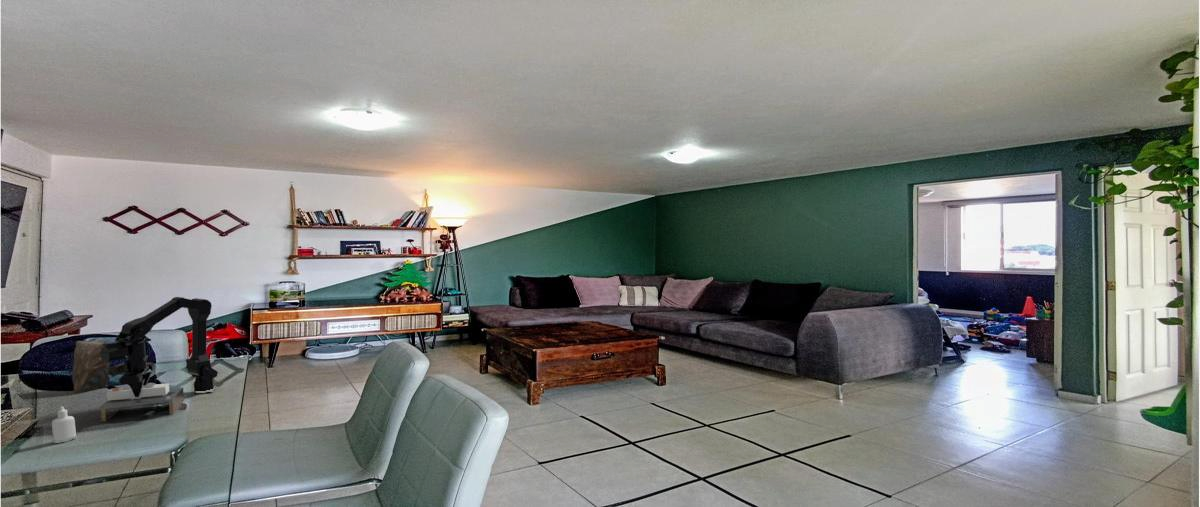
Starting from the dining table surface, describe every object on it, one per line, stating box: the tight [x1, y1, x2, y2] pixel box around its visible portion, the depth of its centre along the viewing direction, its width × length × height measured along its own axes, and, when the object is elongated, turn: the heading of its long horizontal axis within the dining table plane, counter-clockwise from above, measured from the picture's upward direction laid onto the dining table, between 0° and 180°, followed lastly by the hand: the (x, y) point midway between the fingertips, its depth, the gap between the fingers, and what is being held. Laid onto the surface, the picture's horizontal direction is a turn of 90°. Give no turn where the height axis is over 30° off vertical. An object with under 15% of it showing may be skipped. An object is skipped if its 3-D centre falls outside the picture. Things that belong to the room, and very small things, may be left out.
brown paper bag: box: [71, 339, 111, 395], centre depth 249 cm, size 13×13×20 cm
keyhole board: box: [100, 386, 185, 423], centre depth 224 cm, size 22×14×6 cm, turn 112°
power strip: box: [106, 382, 170, 401], centre depth 223 cm, size 18×4×7 cm, turn 112°
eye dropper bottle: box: [51, 406, 77, 440], centre depth 198 cm, size 4×6×12 cm
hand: (139, 394), depth 223 cm, fingers closed on power strip, 4 cm apart
